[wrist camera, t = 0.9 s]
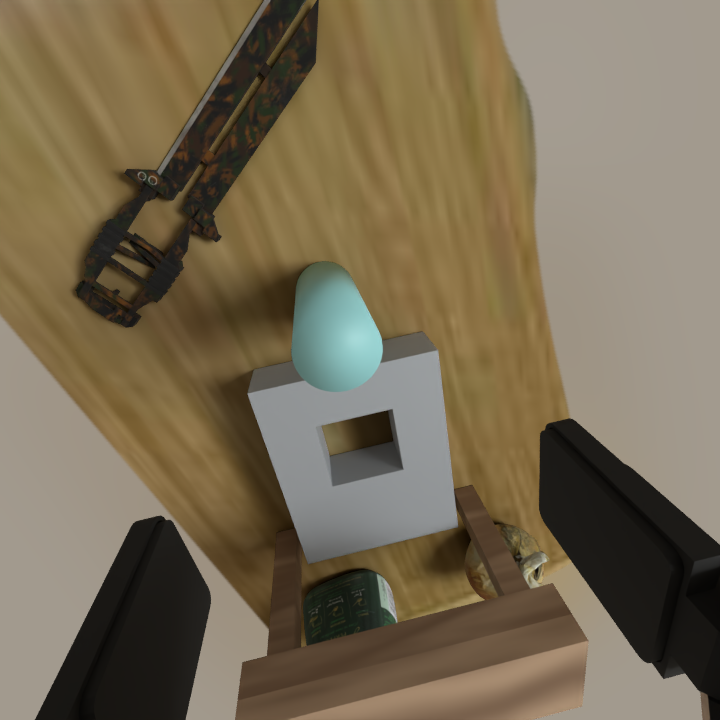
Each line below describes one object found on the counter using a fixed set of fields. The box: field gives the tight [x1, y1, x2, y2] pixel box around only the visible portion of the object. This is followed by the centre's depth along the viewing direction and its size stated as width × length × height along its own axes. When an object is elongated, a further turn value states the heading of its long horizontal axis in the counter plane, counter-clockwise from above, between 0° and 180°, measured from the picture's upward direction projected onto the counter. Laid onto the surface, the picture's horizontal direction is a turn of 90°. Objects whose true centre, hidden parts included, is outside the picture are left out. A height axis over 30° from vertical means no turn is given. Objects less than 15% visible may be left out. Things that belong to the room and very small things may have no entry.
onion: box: [465, 524, 549, 600], centre depth 40 cm, size 8×8×8 cm
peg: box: [291, 261, 383, 392], centre depth 25 cm, size 4×4×12 cm
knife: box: [76, 0, 319, 327], centre depth 26 cm, size 25×6×1 cm, turn 135°
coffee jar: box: [303, 570, 397, 646], centre depth 36 cm, size 10×8×19 cm
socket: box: [247, 332, 458, 564], centre depth 34 cm, size 18×14×4 cm
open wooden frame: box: [235, 485, 588, 720], centre depth 31 cm, size 7×20×18 cm, turn 101°
